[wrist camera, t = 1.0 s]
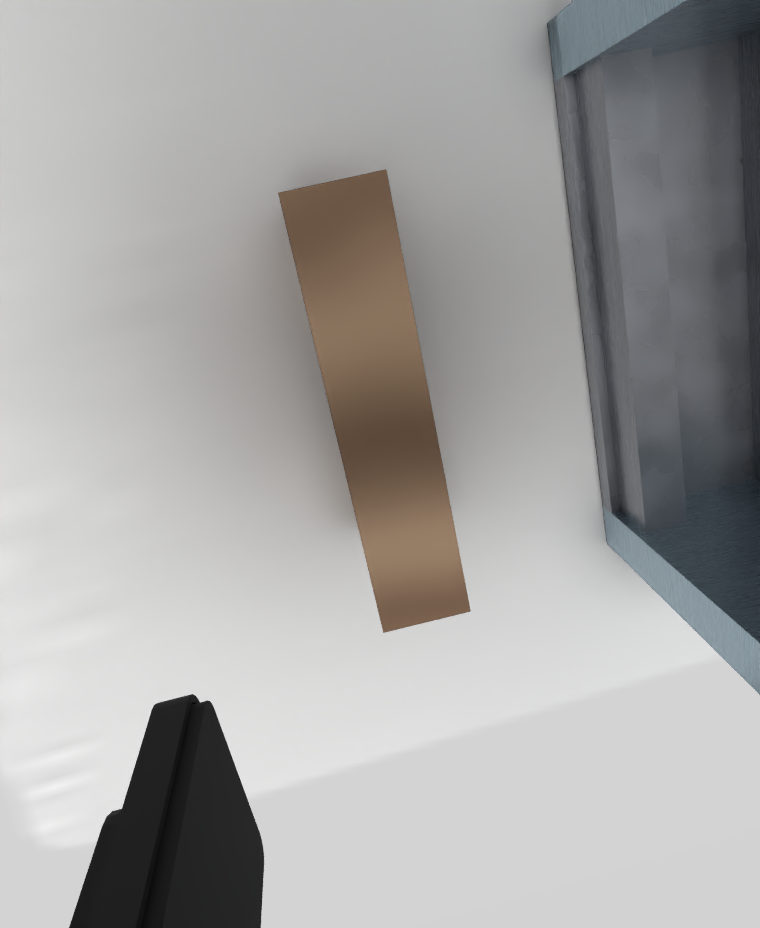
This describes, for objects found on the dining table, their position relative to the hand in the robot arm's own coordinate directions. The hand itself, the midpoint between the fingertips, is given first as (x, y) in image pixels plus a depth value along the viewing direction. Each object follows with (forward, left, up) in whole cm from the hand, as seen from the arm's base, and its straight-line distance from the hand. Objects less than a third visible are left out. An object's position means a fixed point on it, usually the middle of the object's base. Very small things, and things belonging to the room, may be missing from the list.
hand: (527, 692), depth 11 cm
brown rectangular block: (-1, -1, -21) cm, 21 cm away
